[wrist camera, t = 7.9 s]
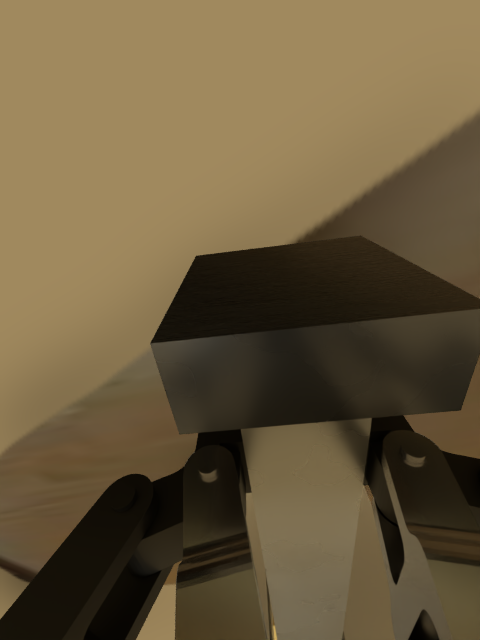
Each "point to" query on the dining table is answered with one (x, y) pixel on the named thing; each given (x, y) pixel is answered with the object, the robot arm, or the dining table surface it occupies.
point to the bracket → (365, 581)
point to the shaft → (312, 391)
